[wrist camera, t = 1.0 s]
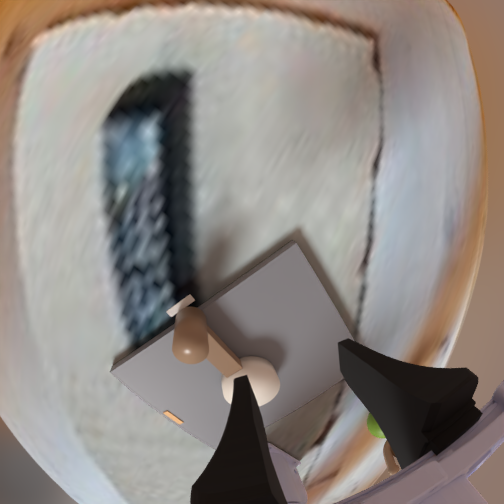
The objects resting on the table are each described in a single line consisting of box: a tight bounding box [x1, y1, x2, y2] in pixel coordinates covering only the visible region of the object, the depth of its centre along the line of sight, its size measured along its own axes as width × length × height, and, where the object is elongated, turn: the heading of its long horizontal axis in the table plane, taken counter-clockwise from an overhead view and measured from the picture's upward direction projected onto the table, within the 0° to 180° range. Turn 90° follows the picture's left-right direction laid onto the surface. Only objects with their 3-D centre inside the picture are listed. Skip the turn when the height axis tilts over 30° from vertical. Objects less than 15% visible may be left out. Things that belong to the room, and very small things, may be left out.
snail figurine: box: [367, 413, 399, 475], centre depth 25 cm, size 5×6×12 cm
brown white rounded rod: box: [172, 307, 280, 406], centre depth 20 cm, size 12×5×4 cm, turn 34°
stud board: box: [110, 240, 354, 450], centre depth 23 cm, size 18×20×1 cm
